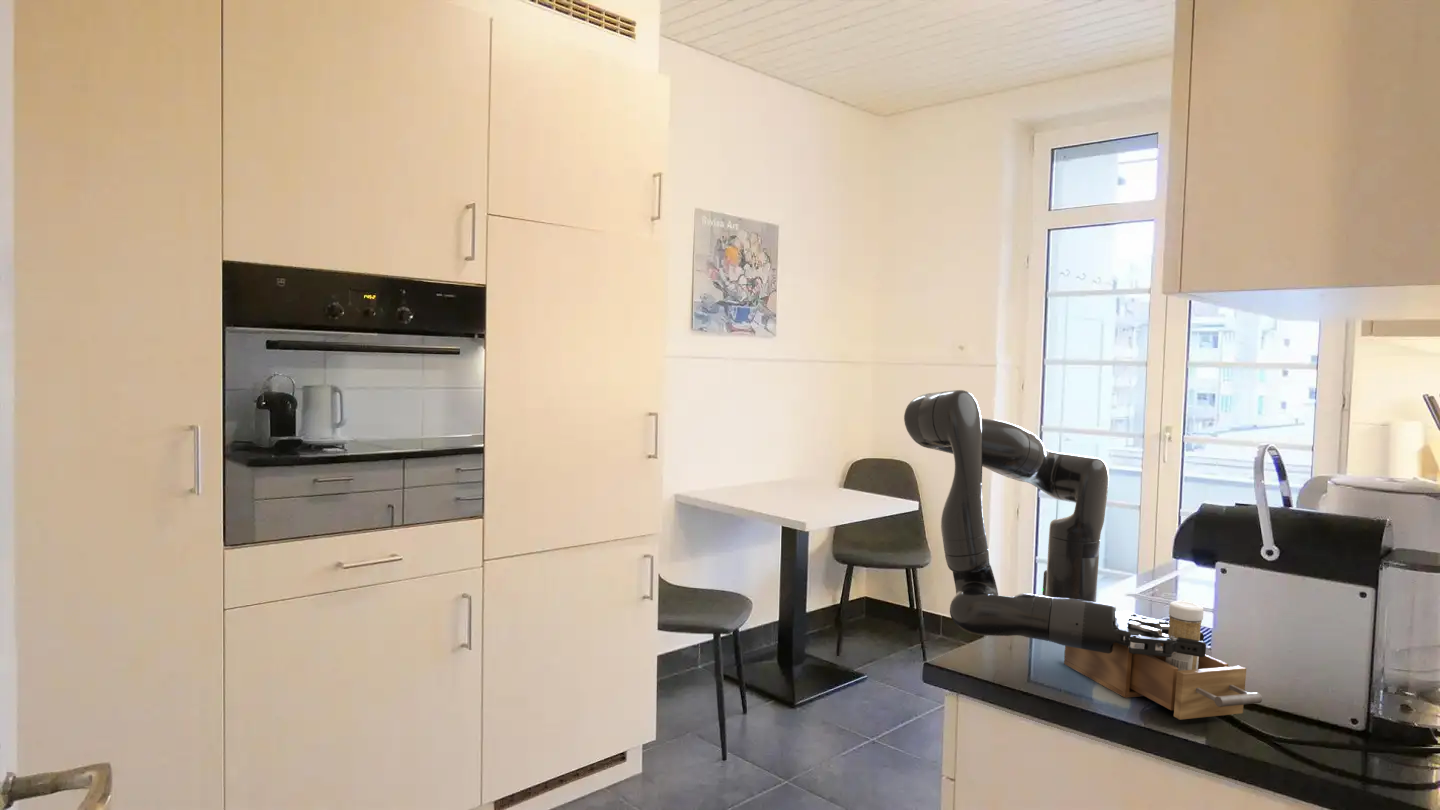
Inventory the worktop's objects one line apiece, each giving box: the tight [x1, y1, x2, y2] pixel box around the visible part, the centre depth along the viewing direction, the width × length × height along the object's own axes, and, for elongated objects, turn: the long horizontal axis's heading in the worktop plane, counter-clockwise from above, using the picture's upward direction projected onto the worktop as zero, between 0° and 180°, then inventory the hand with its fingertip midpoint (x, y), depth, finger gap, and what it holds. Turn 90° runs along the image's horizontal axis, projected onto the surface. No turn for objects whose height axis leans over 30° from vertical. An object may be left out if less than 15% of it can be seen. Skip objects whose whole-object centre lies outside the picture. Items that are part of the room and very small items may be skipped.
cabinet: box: [1063, 610, 1164, 699], centre depth 145 cm, size 15×13×9 cm
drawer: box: [1130, 653, 1263, 721], centre depth 132 cm, size 18×11×7 cm, turn 16°
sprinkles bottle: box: [1166, 600, 1204, 671], centre depth 134 cm, size 5×5×14 cm
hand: (1203, 644), depth 132 cm, fingers closed on sprinkles bottle, 4 cm apart
